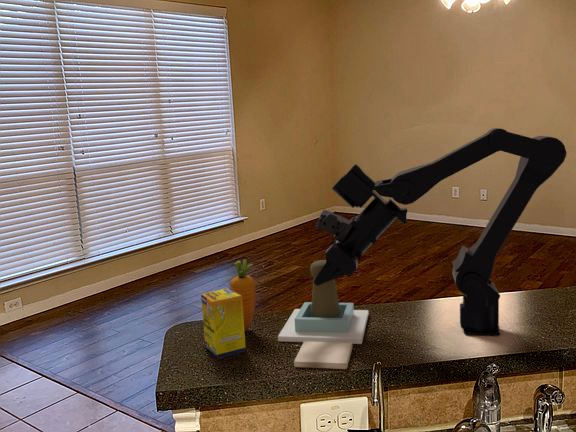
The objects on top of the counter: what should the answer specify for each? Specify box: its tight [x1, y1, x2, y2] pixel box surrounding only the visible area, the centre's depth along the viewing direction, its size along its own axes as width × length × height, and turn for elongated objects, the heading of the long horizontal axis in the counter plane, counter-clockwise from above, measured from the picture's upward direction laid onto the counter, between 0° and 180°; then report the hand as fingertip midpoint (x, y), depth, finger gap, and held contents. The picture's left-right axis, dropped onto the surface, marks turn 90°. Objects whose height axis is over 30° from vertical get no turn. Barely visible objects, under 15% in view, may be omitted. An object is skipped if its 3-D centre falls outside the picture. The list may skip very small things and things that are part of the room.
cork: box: [309, 259, 341, 318], centre depth 115 cm, size 6×6×11 cm
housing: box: [277, 301, 370, 345], centre depth 116 cm, size 16×16×4 cm
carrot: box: [229, 259, 256, 332], centre depth 115 cm, size 5×5×15 cm
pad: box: [293, 341, 353, 370], centre depth 101 cm, size 9×9×1 cm
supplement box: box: [200, 287, 247, 360], centre depth 106 cm, size 6×6×11 cm
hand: (317, 280), depth 115 cm, fingers closed on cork, 5 cm apart
